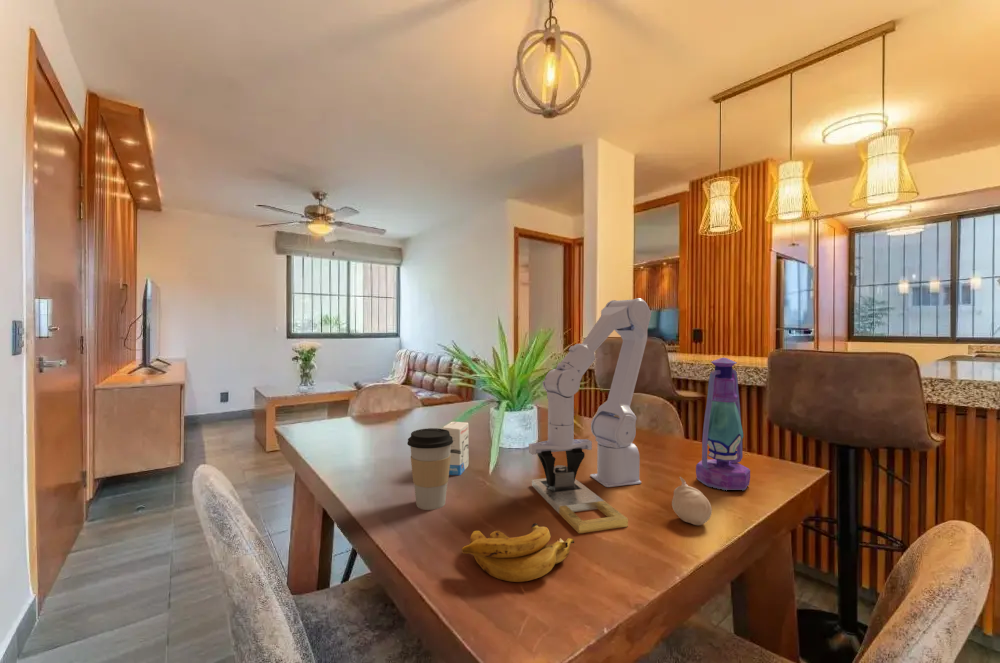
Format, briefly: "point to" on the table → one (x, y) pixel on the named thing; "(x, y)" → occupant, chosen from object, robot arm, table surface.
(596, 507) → the plate with square hole
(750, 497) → the table surface
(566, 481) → the grey knobbed block
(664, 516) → the table surface
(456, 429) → the ink box
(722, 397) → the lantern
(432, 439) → the coffee cup
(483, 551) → the banana
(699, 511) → the garlic bulb
